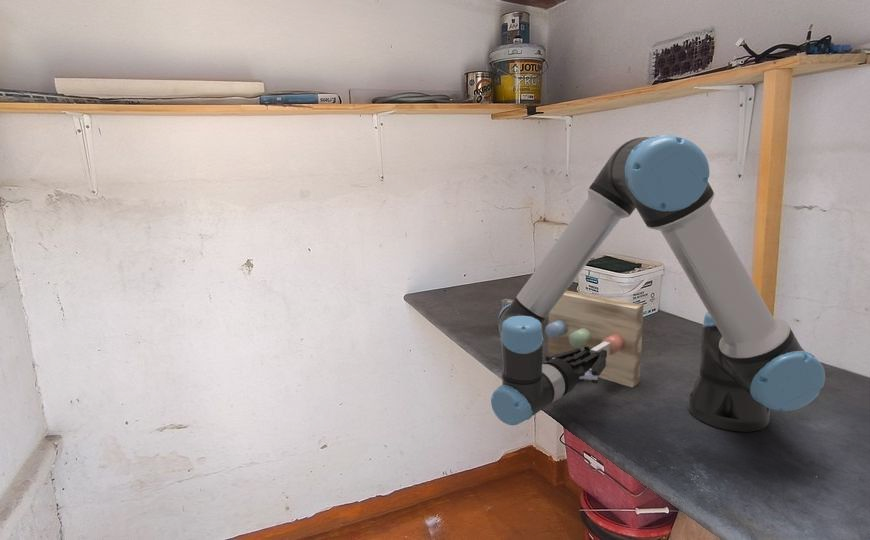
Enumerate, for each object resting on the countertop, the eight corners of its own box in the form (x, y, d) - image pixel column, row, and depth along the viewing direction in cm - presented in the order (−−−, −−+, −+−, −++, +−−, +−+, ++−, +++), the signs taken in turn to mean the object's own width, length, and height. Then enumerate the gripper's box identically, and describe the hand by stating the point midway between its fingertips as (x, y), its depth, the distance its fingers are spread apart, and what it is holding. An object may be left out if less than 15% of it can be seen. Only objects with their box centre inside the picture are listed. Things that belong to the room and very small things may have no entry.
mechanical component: (524, 336, 158) (524, 306, 156) (499, 329, 166) (499, 299, 164) (530, 333, 160) (530, 303, 158) (505, 326, 168) (505, 298, 166)
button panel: (632, 387, 122) (635, 308, 117) (548, 361, 139) (548, 291, 134) (639, 382, 125) (643, 304, 120) (556, 357, 142) (557, 288, 137)
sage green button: (582, 349, 123) (583, 334, 122) (568, 345, 126) (568, 330, 125) (591, 345, 126) (591, 330, 125) (577, 341, 128) (577, 326, 128)
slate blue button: (558, 340, 130) (558, 325, 129) (545, 336, 133) (545, 322, 132) (566, 336, 132) (567, 321, 132) (553, 332, 135) (554, 318, 134)
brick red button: (615, 356, 118) (616, 340, 117) (600, 352, 121) (600, 337, 120) (624, 351, 121) (624, 336, 120) (608, 347, 124) (608, 332, 123)
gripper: (524, 388, 109) (582, 355, 124) (578, 408, 99) (633, 369, 115) (524, 355, 107) (582, 326, 123) (579, 372, 98) (634, 338, 113)
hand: (607, 347), depth 119 cm, fingers closed
